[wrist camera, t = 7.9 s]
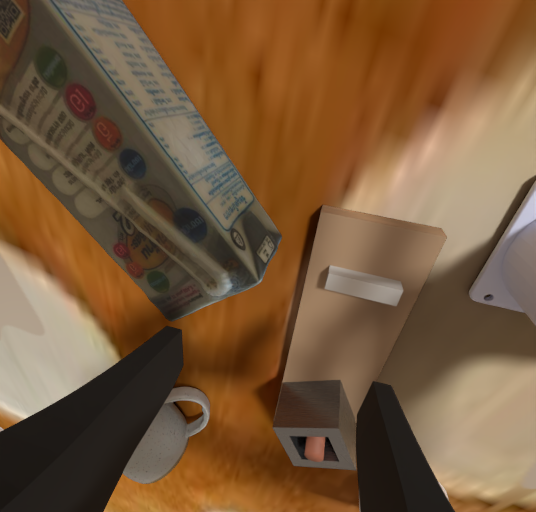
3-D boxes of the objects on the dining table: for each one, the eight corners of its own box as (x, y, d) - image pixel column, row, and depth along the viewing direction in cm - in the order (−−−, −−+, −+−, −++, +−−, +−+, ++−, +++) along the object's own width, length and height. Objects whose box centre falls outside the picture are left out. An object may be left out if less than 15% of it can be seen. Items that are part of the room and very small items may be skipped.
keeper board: (441, 228, 17) (477, 282, 12) (345, 431, 28) (344, 501, 23) (322, 204, 18) (312, 246, 13) (276, 409, 29) (261, 472, 24)
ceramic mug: (158, 422, 37) (118, 494, 30) (120, 378, 34) (66, 446, 27) (227, 418, 33) (198, 499, 26) (190, 367, 30) (147, 444, 23)
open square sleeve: (340, 379, 23) (338, 428, 20) (355, 419, 25) (356, 470, 22) (282, 382, 25) (272, 427, 22) (301, 419, 27) (293, 465, 24)
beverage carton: (206, 278, 24) (161, 336, 18) (18, 45, 18) (-130, 24, 13) (287, 236, 20) (262, 292, 14) (82, -71, 15) (-85, -172, 9)
